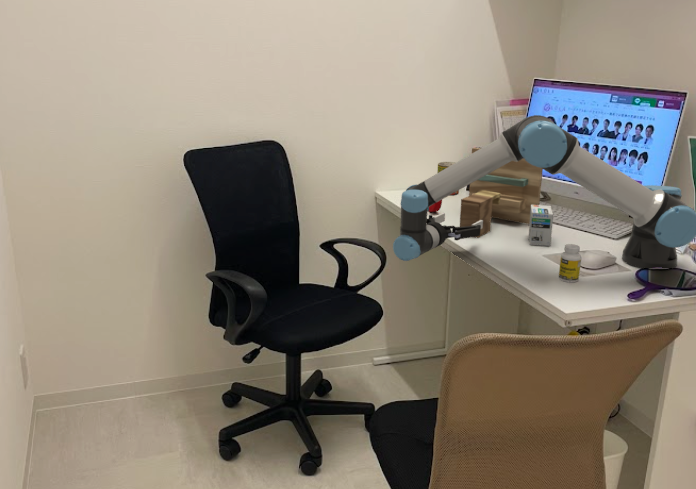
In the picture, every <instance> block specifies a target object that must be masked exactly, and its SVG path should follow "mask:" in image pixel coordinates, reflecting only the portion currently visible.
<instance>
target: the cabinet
mask: <svg viewBox="0 0 696 489" xmlns="http://www.w3.org/2000/svg"><path fill="white" fill-rule="evenodd" d="M492 204H500V193H496V192H490V191H484V190H482V191H480V192H478V193H475V194H472V195H470V196H469V195H468V196H466V197H464V198H461V200H460V213H459V214H460V215H459V227H463V226H472V224H474V223H476V222H478V221H480V220H483V228H482V229H481V231H480V236H476V237H477V238H476V237H475V238H476V239H479V238H481V237H483V236H485V235H486V234H488V233H490V232H491V228H492V226H491V225H492V217H491V213H492Z"/></svg>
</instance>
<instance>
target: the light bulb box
mask: <svg viewBox="0 0 696 489" xmlns="http://www.w3.org/2000/svg"><path fill="white" fill-rule="evenodd" d="M553 221H554V212H553V209H552V206H551V205H542V204H539V205H531V210H530V223H529V224H528V225H529V227H528V240H529V245H530V246H541V247H542V246H544V247H551V245H552V244H551V243H552V242H551V241H552V233H553V230H552V229H553Z"/></svg>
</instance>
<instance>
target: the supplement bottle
mask: <svg viewBox="0 0 696 489" xmlns="http://www.w3.org/2000/svg"><path fill="white" fill-rule="evenodd" d="M563 250H564V251H563V252H562V253H561V254H560V261H559V271H558V279H559V280H560V281H563V282H565V283H576V282H578V281H579V280H580V272H581V264H582V255H581V254H580V250H581V247H580V245H578V244H573V243H567V244H566V243H565V244H564V249H563Z"/></svg>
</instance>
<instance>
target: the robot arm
mask: <svg viewBox="0 0 696 489" xmlns="http://www.w3.org/2000/svg"><path fill="white" fill-rule="evenodd" d="M480 148H481V149H479V150H478V151H476V152H474V153H472V152H471V154H469V155H467V156H465V157H463V158H462V159H460V160H458V161H456V162H455V164H453V165H451V166H449V167H448V168H446V169H444V170H442V171H441V172H439V173H435V174H433V175H432V176H430V177H428V178H427V179H425V180H424V181H421V182H420V183H418V184H412V185H410V186H408V187H407V188H406V189H405V191H403V192H402V193H401V199H400V228H399V236H397V237H396V238H395V239H394V242H393V243H392V251H393V253H394V255H395V256H396V257H397V258H398V259H399V260H401V261H404V262H407V261H409V262H410V261H412V260H413V259H417V258H419V257H420V256H422V255H424V254H425V253H427V252H429V251H431V250H433V249H436V248H437V247H440V246H441V245H443V244H444V243H445V241H446V240H447V239H450V238H451V239H452V238H454V241H459V240H462V239H469V238H476V236H480V231H481V229H482V228H483V220H480V221H478V222H476V223H474V224H472V226H463V227H460V226H455V225H445V224H444V225H442V223H444V222H445V220H446V213H445V212H441V213H440V214H439V213H438V215H437V214H436V215H435V216H434V215H432V214H429V215H428V210H427V208H428V207H430V206H431V205H433V204H435V203H437V202H438V201H440V200H442V201H443V199H445V198H447V197H450V196H449V195H451V194H453V193H454V192H456V191H458V190H459V191H460V190H462V189H463V188H465V187H467V186H470V184H471V183H473V182H474V181H476V180H478V179H480V178H482V177H483V176H485V175H487V174H489V173H491V172H492V171H494V170H496V169H498V168H500V167H502V166H503V165H505V164H507V163H509V162H511V161H515V162H518V161H520V160H521V159H525V160H526V161H527V162H528V163H529V164H531V165H533V166H536V167H540V168H542V169H543V170H544V171H545V172H547V173H549V174H550V175H552V176H553V175H558V174H562V176H565V177H566V178H568V179H569V180H571V181H573V182H574V183H576V184H578V185H580V186H581V187H583V189H585V190H588V191H589V192H591V193H592V194H594V195H596V196H597V197H599V198H601V199H602V200H604V201H606V202H607V203H608V204H610V205H612V206H613V207H615V208H617V209H619V210H620V211H622V212H624V213H625V214H627V215H629V216H630V217H631V218H633V219H632V220H633V222H632V228H631V235H630V237H629V238H628V240H627V242H626V244H625V246H624V248H623V251H622V254H621V255H622V256H621V259H622V261H623V262H624V263H625V264H628V265H630V266H632V267H636V268H640V269H644V268H652V267H662V268H672V269H674V268H675V267H677V264H678V255H677V249H676V248H681V247H684V246H686V245H688V244H690V243H691V242H692V241H693V240H694V239H695V238H696V211H695V210H694V209H693V208H692V207H690V206H688V205H687V204H686V203H684V202H683V201H682V199H681V198H682V197H683V195H682V190H681V188H679V187H676V186H669V185H657V184H656V185H653V184H652V185H651V184H649V185H644V184H642V183H640V182H638V181H637V180H635V179H633V177H630V176H629V175H627V174H625V173H624V172H622V171H621V170H619V169H617V168H616V167H614V166H612V165H611V164H609V163H608V162H606V161H604V160H603V159H601V158H599V156H596V155H595V154H593V153H592V152H589V151H588V150H587V149H585V148H584V147H581V146H580V143H579V139H578V137H576V136H575V135H574V134H572V133H570V132H568V130H567V131H566V130H565V129H563V128H562V127H561V126H559V125H557V124H555V123H554V122H553V121H552V120H551V119H550V118H548V117H546V116H544V115H541V114H540V115H539V114H538V115H537V114H536V115H535V114H534V115H530V116H527V117H525V118H523V119H522V120H520V121H519V122H517V123H515V124H514V125H512V126H511V127H508V128H507V129H505V130H504V131H502V132H501V133H500V135H499V137H498V138H497V139H495V140H493V141H492V142H490V143H488V144H485V145H484V146H483V147H480Z"/></svg>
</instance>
